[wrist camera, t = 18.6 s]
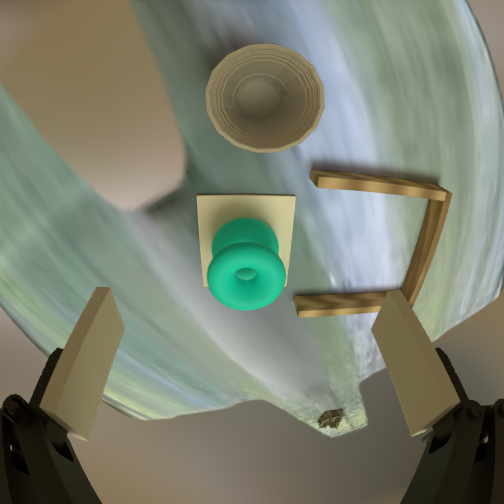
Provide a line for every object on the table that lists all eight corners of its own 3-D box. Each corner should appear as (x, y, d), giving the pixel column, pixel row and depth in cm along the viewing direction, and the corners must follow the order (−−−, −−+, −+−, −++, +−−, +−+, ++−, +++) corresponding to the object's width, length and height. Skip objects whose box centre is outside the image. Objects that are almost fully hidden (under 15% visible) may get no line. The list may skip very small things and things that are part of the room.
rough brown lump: (334, 420, 81) (336, 429, 77) (315, 422, 80) (317, 432, 76) (345, 407, 75) (347, 417, 72) (324, 410, 75) (326, 420, 71)
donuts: (188, 280, 32) (254, 233, 29) (199, 240, 41) (251, 201, 38) (240, 325, 36) (302, 289, 34) (240, 282, 45) (290, 249, 42)
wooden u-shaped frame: (294, 302, 48) (297, 317, 45) (311, 169, 36) (318, 176, 33) (403, 295, 50) (411, 308, 46) (438, 185, 37) (452, 193, 34)
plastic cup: (221, 58, 28) (211, 36, 18) (303, 69, 29) (332, 55, 19) (211, 134, 33) (197, 148, 23) (291, 144, 34) (314, 162, 24)
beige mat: (203, 285, 46) (203, 286, 45) (197, 194, 38) (196, 195, 37) (285, 285, 46) (286, 286, 46) (295, 195, 38) (295, 196, 38)
